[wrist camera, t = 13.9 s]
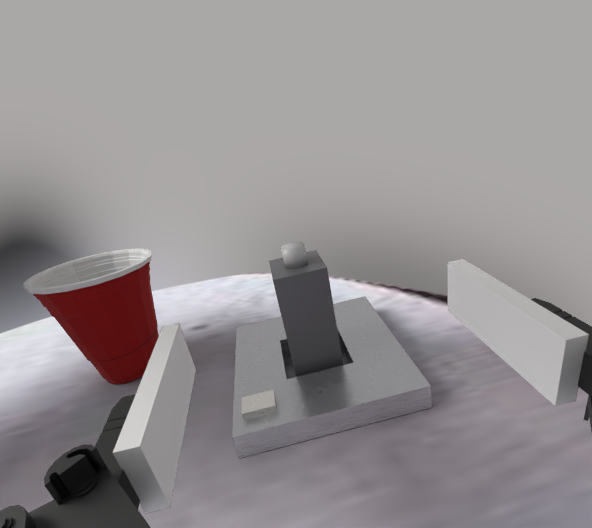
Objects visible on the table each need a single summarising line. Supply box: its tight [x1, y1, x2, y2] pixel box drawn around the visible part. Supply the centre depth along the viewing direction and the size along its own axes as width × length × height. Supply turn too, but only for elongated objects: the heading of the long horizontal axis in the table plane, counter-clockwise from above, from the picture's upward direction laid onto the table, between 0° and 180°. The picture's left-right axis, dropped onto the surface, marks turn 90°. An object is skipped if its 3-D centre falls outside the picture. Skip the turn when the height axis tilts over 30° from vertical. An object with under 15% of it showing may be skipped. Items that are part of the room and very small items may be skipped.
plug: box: [269, 242, 343, 377], centre depth 28 cm, size 4×4×12 cm
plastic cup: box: [23, 249, 159, 384], centre depth 34 cm, size 11×11×12 cm
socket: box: [232, 297, 432, 458], centre depth 30 cm, size 14×14×3 cm
